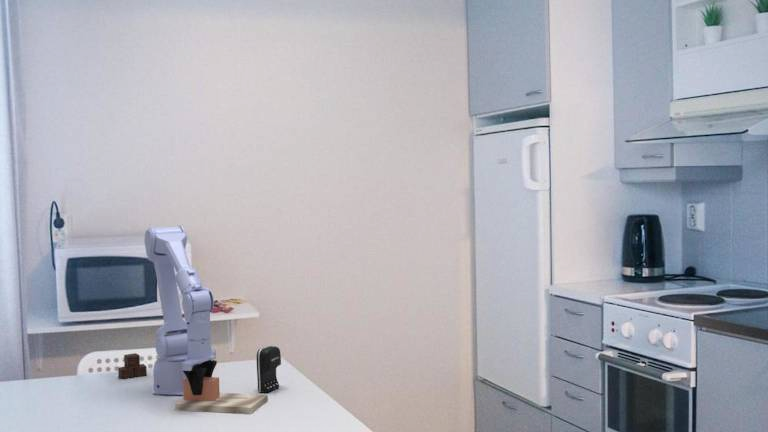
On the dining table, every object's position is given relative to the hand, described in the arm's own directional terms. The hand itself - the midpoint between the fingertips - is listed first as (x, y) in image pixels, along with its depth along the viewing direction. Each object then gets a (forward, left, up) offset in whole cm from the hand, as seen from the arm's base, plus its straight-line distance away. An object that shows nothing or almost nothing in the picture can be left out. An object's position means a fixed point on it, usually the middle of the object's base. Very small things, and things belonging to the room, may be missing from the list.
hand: (200, 392), depth 198 cm
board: (+5, 0, -3) cm, 6 cm away
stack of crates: (-34, +24, -4) cm, 41 cm away
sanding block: (0, 0, -2) cm, 2 cm away
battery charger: (+12, +15, -3) cm, 20 cm away
